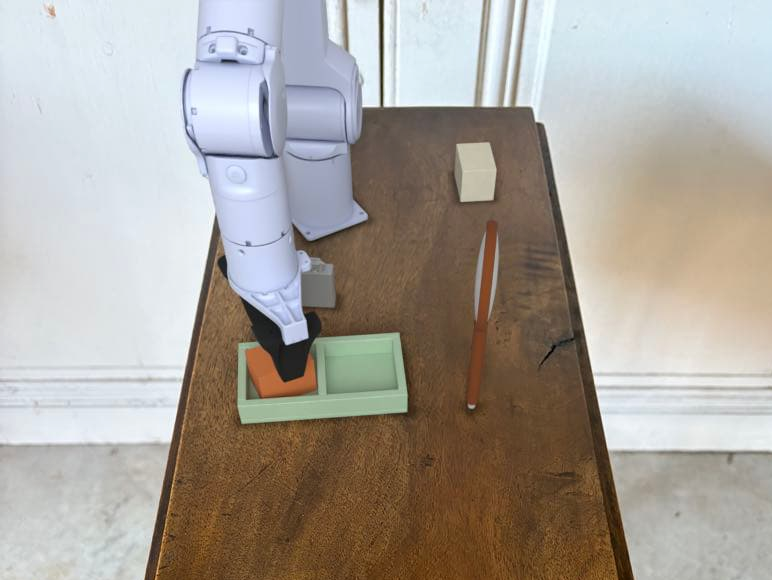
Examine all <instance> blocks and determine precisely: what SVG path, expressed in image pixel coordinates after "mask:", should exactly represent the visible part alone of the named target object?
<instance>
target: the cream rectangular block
mask: <svg viewBox="0 0 772 580" xmlns="http://www.w3.org/2000/svg"><path fill="white" fill-rule="evenodd" d="M454 179H455V184H456V188H457V192H458V197H459V202H460V203H466V202H467V203H468V202H487V201H488V202H489V201H494V197H495V190H496V180H497V166H496V162H495V157H494V154H493V150H492V146H491V143H490V142H489V141H488V142H487V141H486V142H467V143H456V145H455V159H454Z"/></svg>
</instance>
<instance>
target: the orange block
mask: <svg viewBox="0 0 772 580" xmlns="http://www.w3.org/2000/svg"><path fill="white" fill-rule="evenodd" d="M245 356H246V360H247V365H248V369H249V374H250V378H251V381H252V383H253V385H254V387H255V389H256V391H257V393H258V395H259V397H260V399H267V398H281V397H296V396H300V395H303V394H306V393H309V392H312V391H315V390H317V383H316V375H315V367H314V360H313V359H312V357H311V355H310V353H309V354H308V359H307V364H306V369H305V374H304V376H303V377H301V378H298V379H295V380H292V381H289V382H286V383H284V382H283V381H282V380H281V378H280V376H279V374H278V372H277V370H276V368H275V366H274V363H273V360H272V358H271V356H270V354H269V353H268V352H267V351H265V350H264V349H263V348H262V347H261V346H258V347H255V348H252V349H249V350H245Z"/></svg>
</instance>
